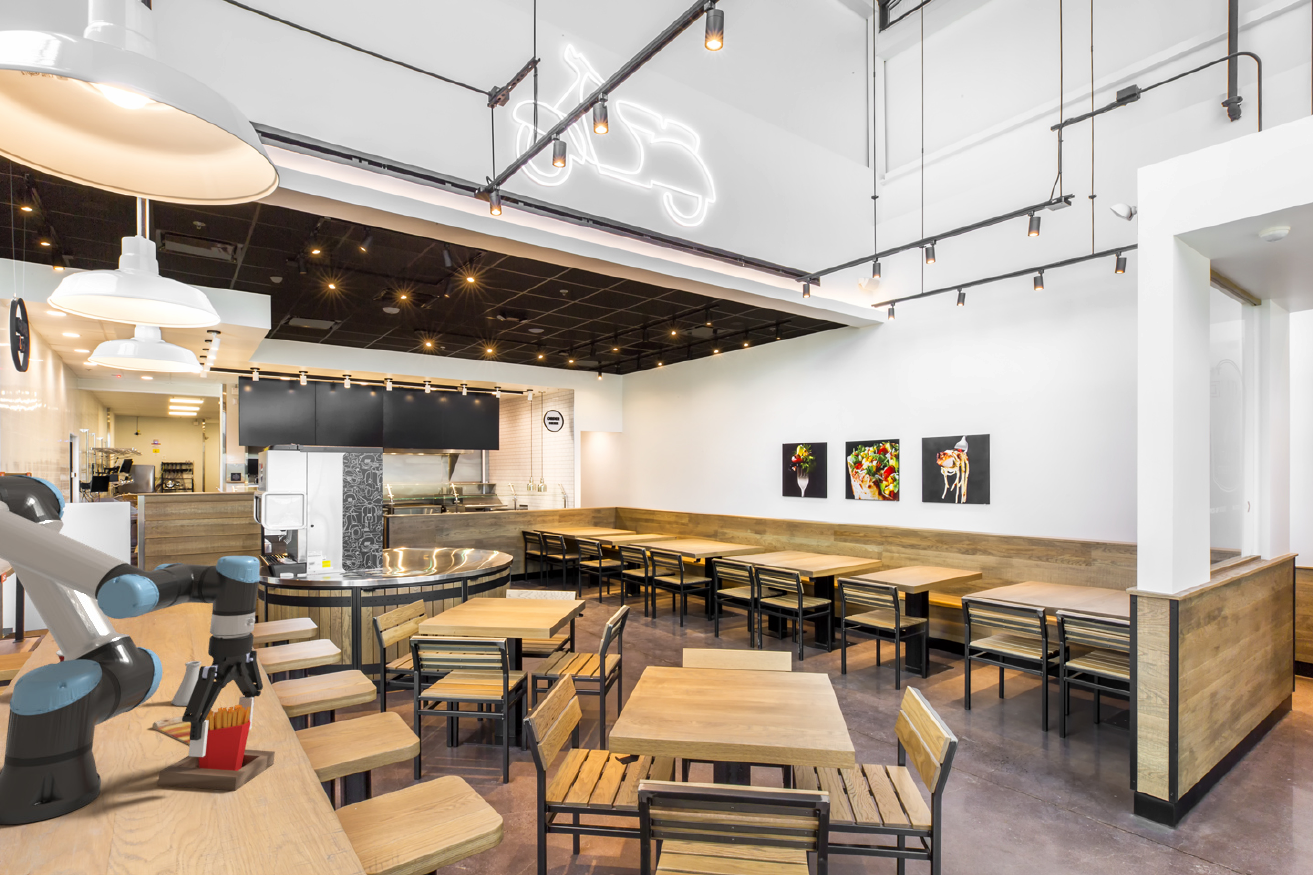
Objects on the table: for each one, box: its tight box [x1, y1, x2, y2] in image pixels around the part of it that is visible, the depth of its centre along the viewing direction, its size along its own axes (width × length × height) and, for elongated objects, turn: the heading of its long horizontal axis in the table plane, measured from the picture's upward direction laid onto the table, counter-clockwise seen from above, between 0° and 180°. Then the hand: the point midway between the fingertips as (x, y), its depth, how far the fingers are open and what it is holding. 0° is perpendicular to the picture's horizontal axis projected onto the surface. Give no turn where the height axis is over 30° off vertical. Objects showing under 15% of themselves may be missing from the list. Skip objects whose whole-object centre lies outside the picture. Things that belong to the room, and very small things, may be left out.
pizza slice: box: [151, 710, 218, 746], centre depth 149 cm, size 16×22×2 cm
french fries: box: [198, 704, 251, 771], centre depth 131 cm, size 9×4×13 cm, turn 130°
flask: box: [170, 660, 202, 707], centre depth 169 cm, size 7×7×10 cm
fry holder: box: [157, 748, 276, 791], centre depth 130 cm, size 12×15×2 cm
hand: (221, 741), depth 131 cm, fingers open, 13 cm apart
